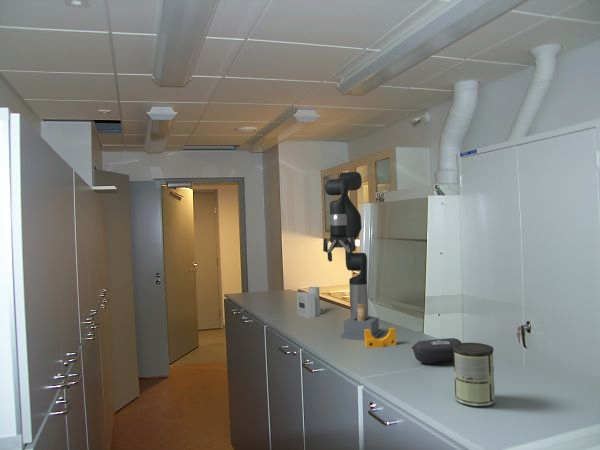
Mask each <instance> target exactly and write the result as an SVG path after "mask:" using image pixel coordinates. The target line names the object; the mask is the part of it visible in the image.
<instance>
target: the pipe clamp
mask: <svg viewBox="0 0 600 450" xmlns="http://www.w3.org/2000/svg"><path fill="white" fill-rule="evenodd" d="M396 330H397V329H396V328H394V327H389V328H388V332H387V334H386V335H385V336H384V337H381V338H378V337H377V338H374V337H373V336H372V334H371V330H369V329H364V336H365V340H364V346H365V347H366V348H367V349H370V348H371V349H372V348H373V349H374V348H375V349H376V348H384V347H385V346H386V347H387V346H388V347H389V346H397V333H396V332H397V331H396Z"/></svg>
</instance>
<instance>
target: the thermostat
mask: <svg viewBox="0 0 600 450" xmlns="http://www.w3.org/2000/svg"><path fill="white" fill-rule="evenodd" d="M320 305H321V304H320V286H310V287H308V292H306V291H302V292H300V291H299V292H296V309H297V310H296V313H297V315H298V314H299V315H298V316H301V317H303V316H304V317H303V318H306V319H310V318H311V317H312V318H316V317H317V316H321V313H322V312H326V311H327V309H326V308H321V306H320Z"/></svg>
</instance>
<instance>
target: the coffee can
mask: <svg viewBox="0 0 600 450" xmlns="http://www.w3.org/2000/svg"><path fill="white" fill-rule="evenodd" d="M453 352H454V362H453V370H454V371H453V372H454V373H453V375H454V392H455V393H454V399H455V400H456V401H457V402H458V403H461V404H463V405H466V406H474V407H486V406H491V405H493V404H494V403H495V402H496V398H495V397H496V396H495V376H494V375H495V374H494V373H495V372H494V371H495V369H494V347H493V346H491V345H489V344H486V343H479V342H461V343H459V344H456V345H454V346H453Z"/></svg>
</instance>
